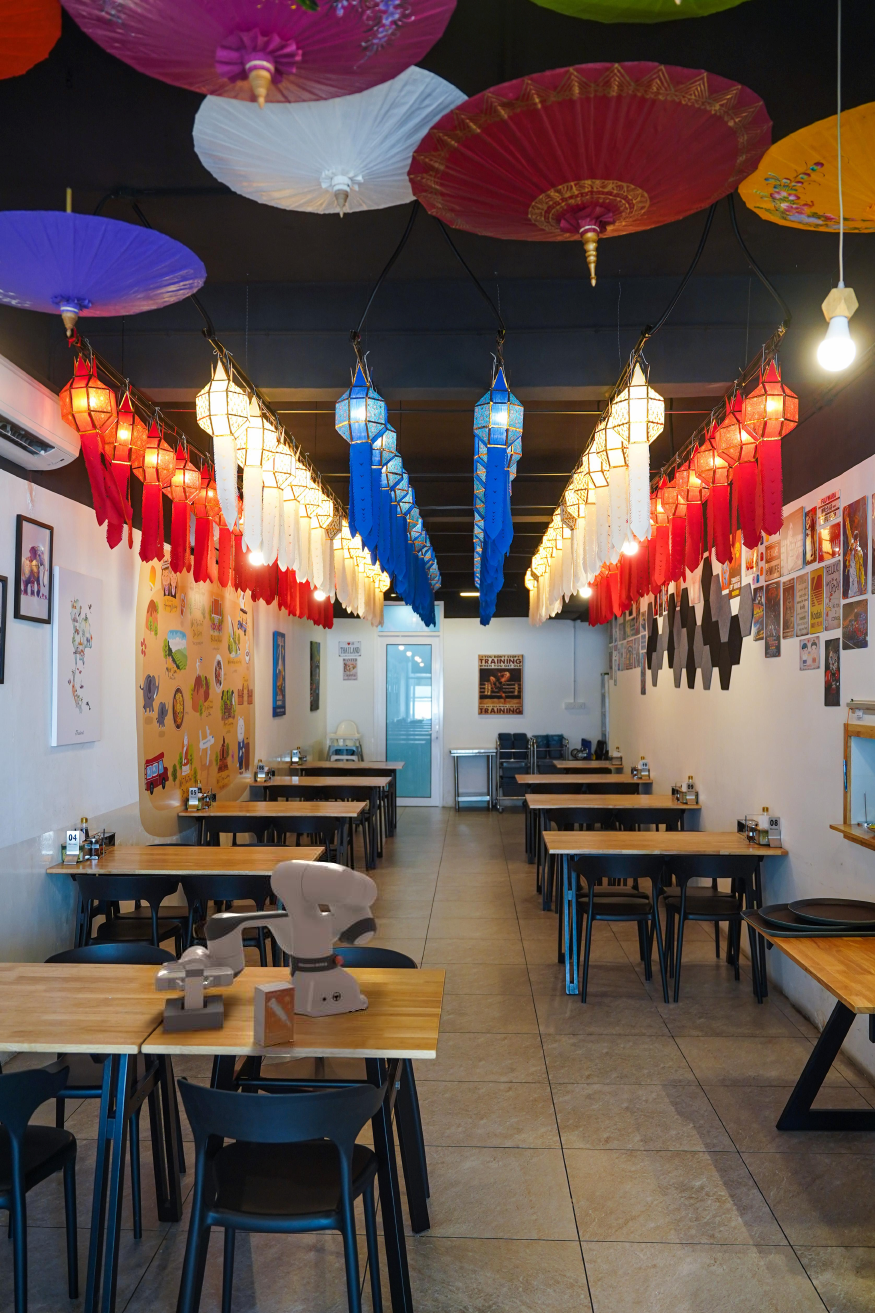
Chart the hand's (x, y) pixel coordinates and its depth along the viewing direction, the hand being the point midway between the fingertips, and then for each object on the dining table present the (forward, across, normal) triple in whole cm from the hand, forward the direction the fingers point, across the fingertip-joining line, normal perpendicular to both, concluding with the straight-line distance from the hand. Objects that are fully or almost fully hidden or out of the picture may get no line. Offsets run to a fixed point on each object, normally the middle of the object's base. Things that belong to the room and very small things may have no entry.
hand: (194, 987), depth 230 cm
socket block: (-1, 0, -9) cm, 9 cm away
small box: (+19, -19, -9) cm, 29 cm away
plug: (-1, 0, -7) cm, 7 cm away
